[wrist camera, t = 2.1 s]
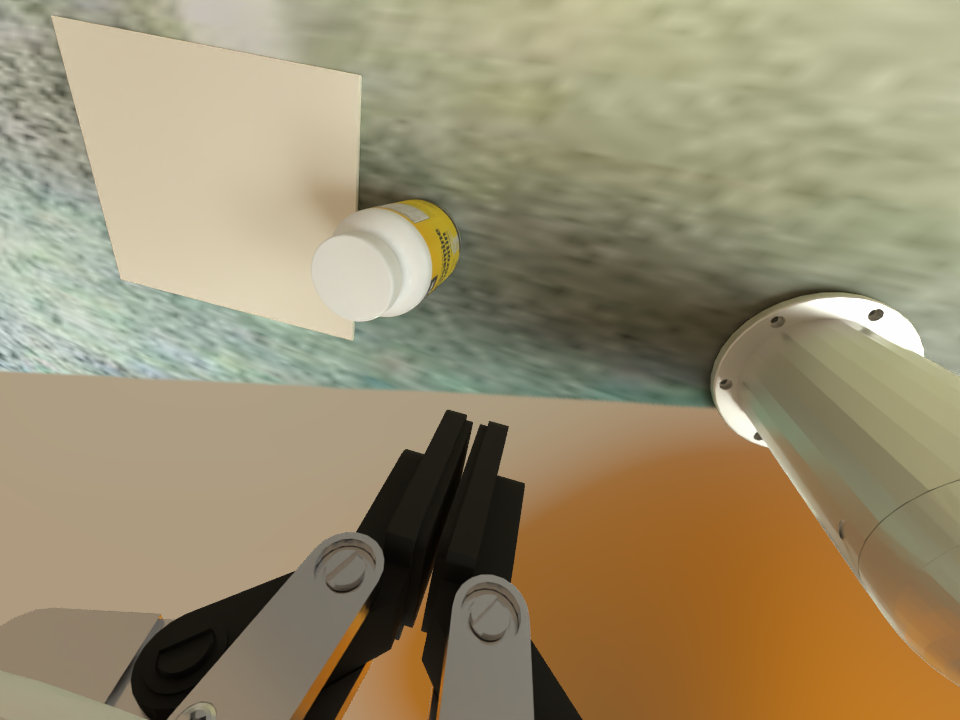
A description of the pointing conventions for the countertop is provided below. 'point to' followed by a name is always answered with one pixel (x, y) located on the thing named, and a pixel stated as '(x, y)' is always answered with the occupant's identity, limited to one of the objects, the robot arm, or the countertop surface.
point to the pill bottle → (386, 259)
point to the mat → (216, 166)
